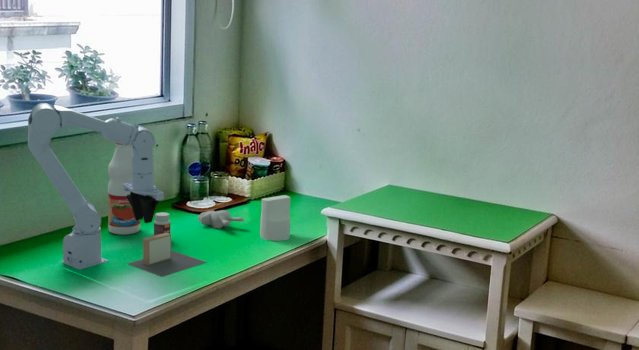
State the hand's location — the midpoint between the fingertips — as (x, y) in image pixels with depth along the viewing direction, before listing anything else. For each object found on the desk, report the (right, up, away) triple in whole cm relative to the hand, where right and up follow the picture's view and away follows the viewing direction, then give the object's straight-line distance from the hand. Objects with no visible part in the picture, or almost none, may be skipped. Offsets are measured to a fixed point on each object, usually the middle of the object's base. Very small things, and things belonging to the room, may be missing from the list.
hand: (143, 220), depth 228 cm
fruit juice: (-11, -5, +25) cm, 28 cm away
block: (+4, -11, -1) cm, 12 cm away
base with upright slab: (+34, -6, +26) cm, 44 cm away
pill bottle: (+2, -7, +16) cm, 18 cm away
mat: (+7, -12, -2) cm, 14 cm away
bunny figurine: (+16, -4, +34) cm, 38 cm away
